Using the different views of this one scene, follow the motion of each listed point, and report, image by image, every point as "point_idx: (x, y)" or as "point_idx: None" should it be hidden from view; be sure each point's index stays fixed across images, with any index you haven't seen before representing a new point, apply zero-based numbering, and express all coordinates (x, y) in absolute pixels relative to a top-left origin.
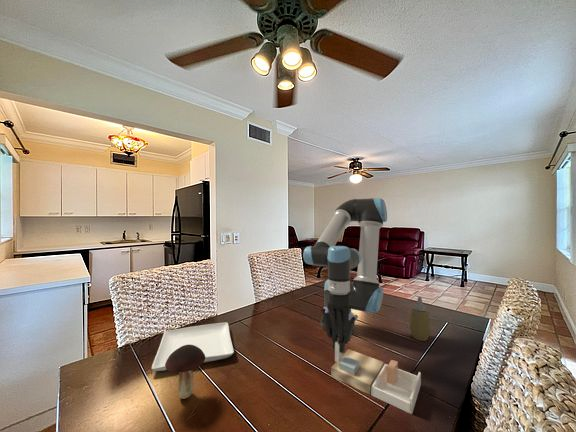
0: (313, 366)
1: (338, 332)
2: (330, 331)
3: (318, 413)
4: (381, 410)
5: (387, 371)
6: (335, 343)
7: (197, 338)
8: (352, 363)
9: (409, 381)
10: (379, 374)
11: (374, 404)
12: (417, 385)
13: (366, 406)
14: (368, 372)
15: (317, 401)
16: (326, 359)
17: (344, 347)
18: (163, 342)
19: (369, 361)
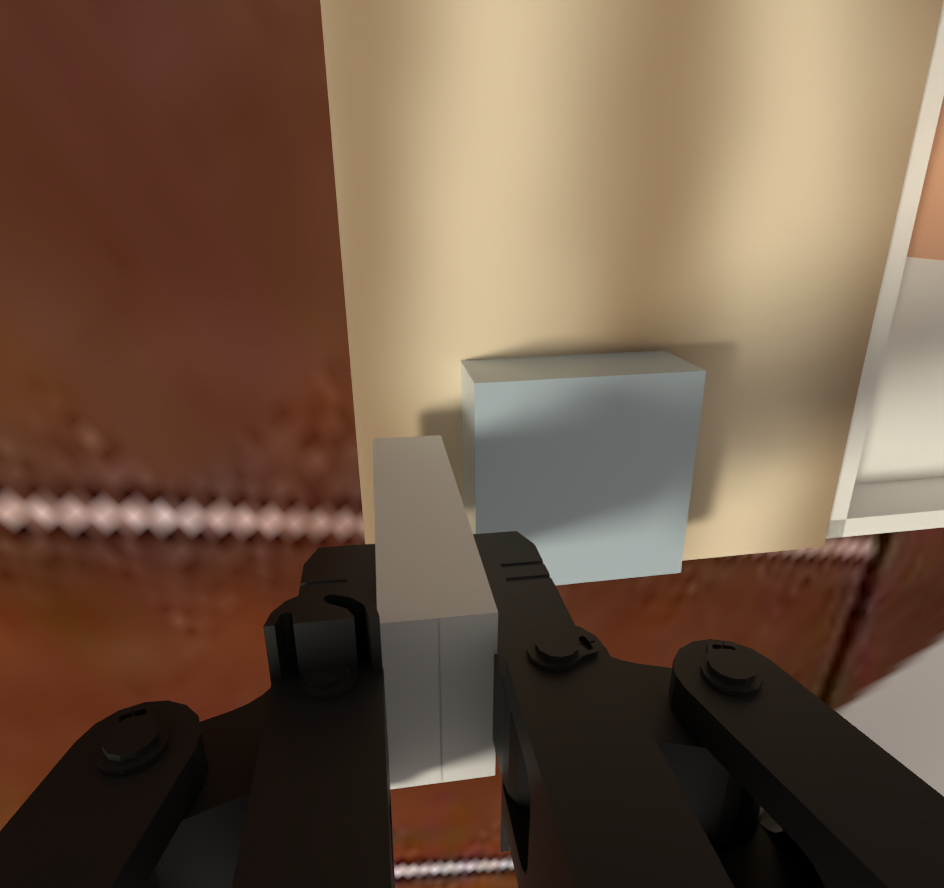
0: (97, 530)
1: (387, 808)
2: (59, 861)
3: (501, 861)
4: (857, 582)
5: None
6: (401, 765)
7: None
8: (629, 486)
9: None
10: (886, 292)
11: (806, 567)
12: None
13: (757, 621)
14: (780, 375)
15: (440, 809)
16: (108, 292)
17: (549, 587)
18: None
19: (753, 107)
